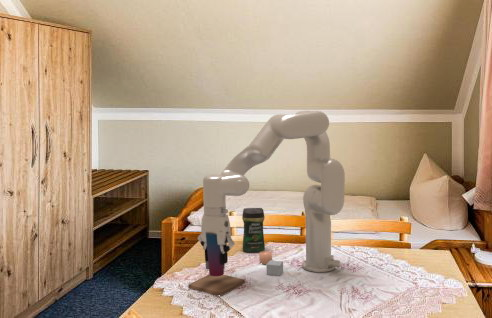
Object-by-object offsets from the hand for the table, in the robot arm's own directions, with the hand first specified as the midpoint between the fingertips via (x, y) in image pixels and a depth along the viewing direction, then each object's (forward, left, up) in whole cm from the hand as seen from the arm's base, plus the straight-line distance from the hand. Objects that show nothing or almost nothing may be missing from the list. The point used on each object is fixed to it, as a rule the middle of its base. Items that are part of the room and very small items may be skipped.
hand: (216, 261), depth 163 cm
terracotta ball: (-2, -29, -9) cm, 30 cm away
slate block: (-11, -21, -9) cm, 25 cm away
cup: (0, 0, -5) cm, 5 cm away
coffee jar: (+11, -40, -9) cm, 42 cm away
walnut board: (0, 0, -9) cm, 9 cm away
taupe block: (+11, -13, -9) cm, 19 cm away
